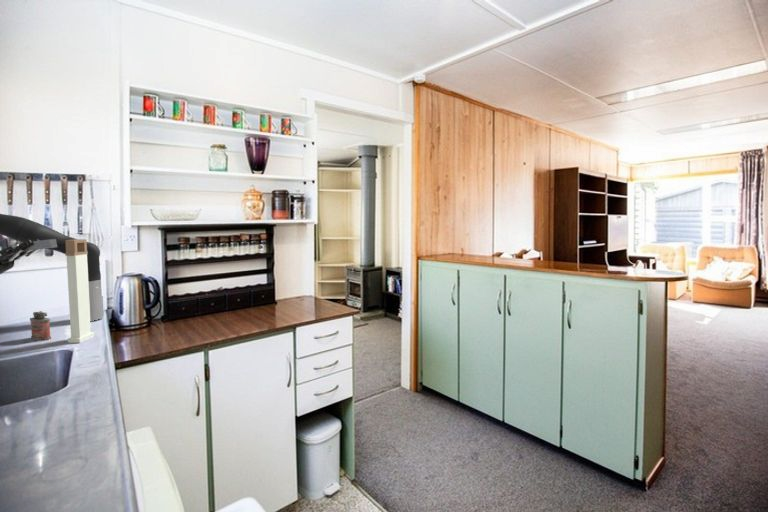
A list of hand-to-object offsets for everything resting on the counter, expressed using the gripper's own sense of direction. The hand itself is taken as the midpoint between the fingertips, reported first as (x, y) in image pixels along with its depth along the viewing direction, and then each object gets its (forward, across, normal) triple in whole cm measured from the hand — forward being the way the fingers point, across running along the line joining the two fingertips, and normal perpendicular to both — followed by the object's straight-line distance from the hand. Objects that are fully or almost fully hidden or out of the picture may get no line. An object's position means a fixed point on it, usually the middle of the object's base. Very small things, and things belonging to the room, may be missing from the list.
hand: (35, 241), depth 143 cm
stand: (-6, 0, +38) cm, 38 cm away
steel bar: (0, 0, +3) cm, 3 cm away
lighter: (-19, +1, +30) cm, 36 cm away
